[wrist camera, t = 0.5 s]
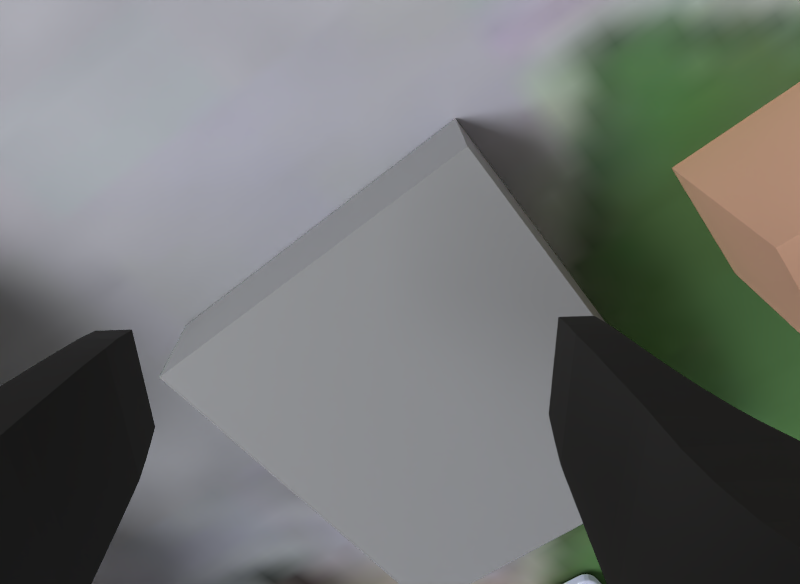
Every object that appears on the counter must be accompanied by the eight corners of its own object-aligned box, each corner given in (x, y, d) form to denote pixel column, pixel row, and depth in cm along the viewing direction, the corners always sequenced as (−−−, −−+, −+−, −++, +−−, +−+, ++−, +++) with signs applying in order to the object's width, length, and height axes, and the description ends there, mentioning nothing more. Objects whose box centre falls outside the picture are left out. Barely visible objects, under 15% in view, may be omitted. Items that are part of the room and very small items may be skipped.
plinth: (665, 403, 24) (700, 460, 21) (422, 542, 27) (426, 607, 24) (455, 118, 19) (467, 146, 16) (185, 325, 22) (159, 377, 19)
